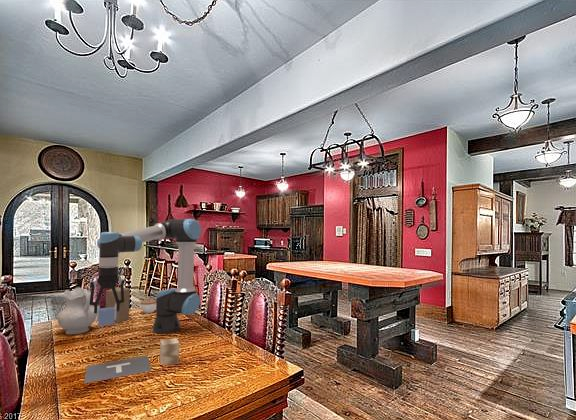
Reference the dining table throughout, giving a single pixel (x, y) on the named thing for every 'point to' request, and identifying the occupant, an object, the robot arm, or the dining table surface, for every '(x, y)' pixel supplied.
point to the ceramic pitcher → (77, 312)
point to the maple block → (169, 351)
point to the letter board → (117, 369)
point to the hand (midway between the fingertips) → (106, 319)
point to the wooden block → (124, 306)
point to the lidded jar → (148, 306)
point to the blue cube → (106, 316)
